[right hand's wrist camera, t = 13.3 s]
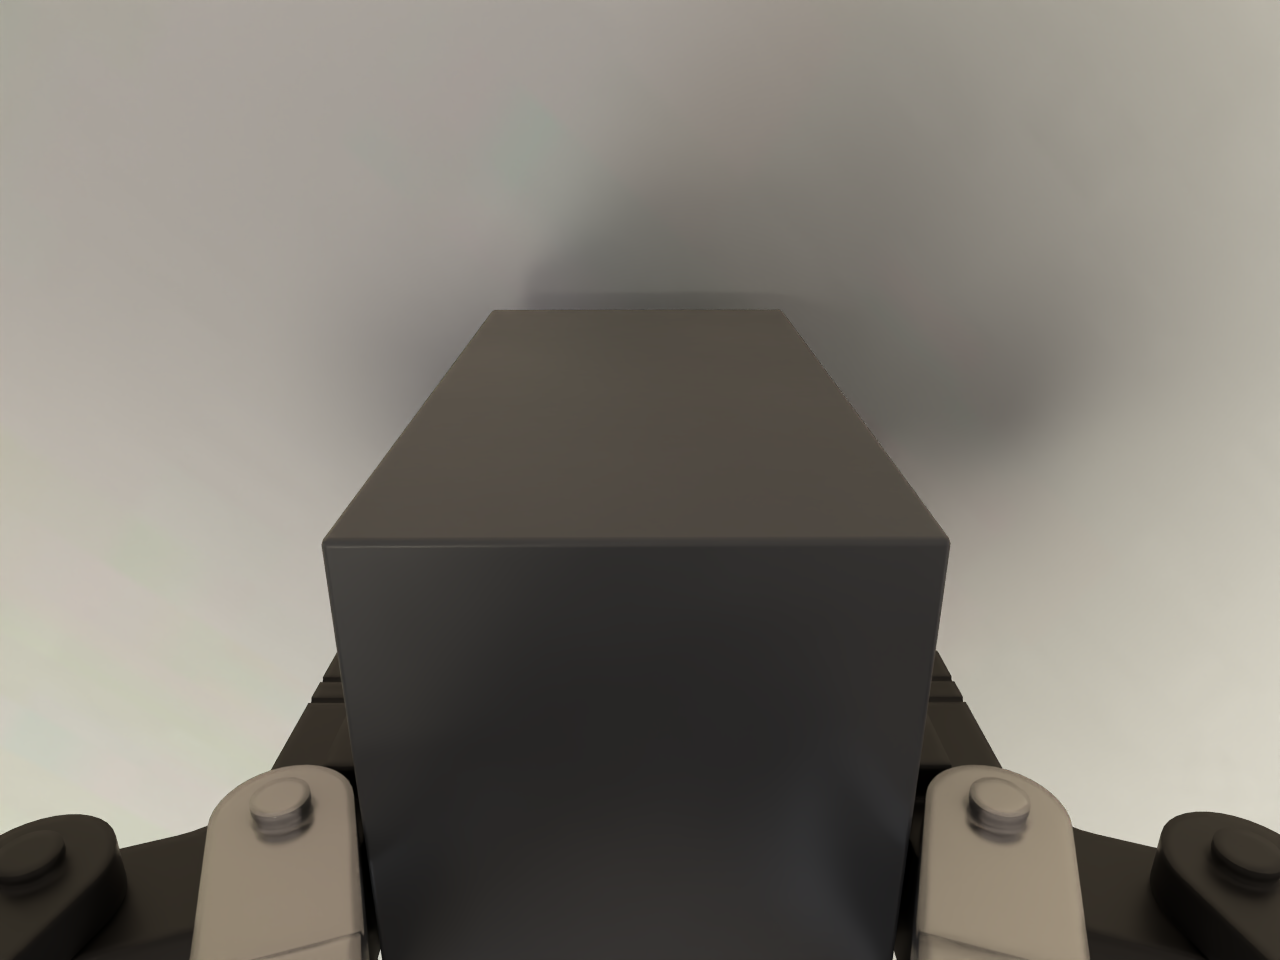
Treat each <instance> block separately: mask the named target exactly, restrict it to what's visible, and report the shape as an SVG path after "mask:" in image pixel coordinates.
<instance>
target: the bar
mask: <svg viewBox="0 0 1280 960" xmlns="http://www.w3.org/2000/svg"><path fill="white" fill-rule="evenodd" d="M949 550H950V540H949V538H948V536H947V535H946V534H945V532H944V531H943V529H942V528H941V527H940V525H939V524H938V523H937V521H936V520H935V519H934V517H933V516H932V515H931V513H930V512H929V510H928V509H927V508H926V506H925V505H924V504H923V502H922V501H921V500H920V498H919V497H918V495H917V494H916V493H915V491H914V490H913V489H912V487H911V486H910V485H909V483H908V482H907V481H906V479H905V478H904V476H903V475H902V474H901V472H900V471H899V470H898V468H897V467H896V466H895V464H894V463H893V461H892V460H891V459H890V457H889V456H888V455H887V453H886V452H885V451H884V449H883V448H882V446H881V445H880V444H879V442H878V441H877V440H876V438H875V437H874V436H873V434H872V433H871V432H870V430H869V429H868V427H867V426H866V425H865V423H864V422H863V421H862V419H861V418H860V417H859V415H858V414H857V412H856V411H855V410H854V408H853V407H852V406H851V404H850V403H849V402H848V400H847V399H846V398H845V396H844V395H843V393H842V392H841V391H840V389H839V388H838V387H837V385H836V384H835V383H834V381H833V380H832V378H831V377H830V376H829V374H828V373H827V372H826V370H825V369H824V368H823V366H822V365H821V363H820V362H819V361H818V359H817V358H816V357H815V355H814V354H813V353H812V351H811V350H810V349H809V347H808V346H807V344H806V343H805V342H804V340H803V339H802V338H801V336H800V335H799V334H798V332H797V331H796V329H795V328H794V327H793V325H792V324H791V323H790V321H789V320H788V319H787V317H786V316H785V315H784V313H783V312H782V311H781V310H494V311H492V313H491V314H490V315H489V317H488V318H487V319H486V321H485V322H484V323H483V325H482V326H481V327H480V329H479V330H478V331H477V333H476V334H475V335H474V337H473V338H472V340H471V341H470V342H469V344H468V345H467V346H466V348H465V349H464V350H463V352H462V353H461V354H460V356H459V357H458V358H457V360H456V361H455V362H454V364H453V365H452V367H451V368H450V369H449V371H448V372H447V373H446V375H445V376H444V377H443V379H442V380H441V381H440V383H439V384H438V385H437V387H436V388H435V389H434V391H433V392H432V393H431V395H430V396H429V398H428V399H427V400H426V402H425V403H424V404H423V406H422V407H421V408H420V410H419V411H418V412H417V414H416V415H415V416H414V418H413V419H412V420H411V422H410V423H409V424H408V426H407V427H406V429H405V430H404V431H403V433H402V434H401V435H400V437H399V438H398V439H397V441H396V442H395V443H394V445H393V446H392V447H391V449H390V450H389V451H388V453H387V454H386V455H385V457H384V458H383V460H382V461H381V462H380V464H379V465H378V466H377V468H376V469H375V470H374V472H373V473H372V474H371V476H370V477H369V478H368V480H367V481H366V482H365V484H364V485H363V487H362V488H361V489H360V491H359V492H358V493H357V495H356V496H355V497H354V499H353V500H352V501H351V503H350V504H349V505H348V507H347V508H346V509H345V511H344V512H343V513H342V515H341V516H340V518H339V519H338V520H337V522H336V523H335V524H334V526H333V527H332V528H331V530H330V531H329V532H328V534H327V535H326V536H325V538H324V539H323V542H322V551H323V558H324V564H325V571H326V578H327V585H328V592H329V599H330V606H331V612H332V619H333V626H334V633H335V640H336V647H337V653H338V660H339V667H340V674H341V681H342V688H343V695H344V701H345V708H346V715H347V722H348V729H349V736H350V743H351V749H352V756H353V763H354V770H355V777H356V784H357V790H358V797H359V804H360V811H361V818H362V825H363V832H364V838H365V845H366V852H367V859H368V866H369V873H370V880H371V886H372V893H373V900H374V907H375V914H376V921H377V927H378V934H379V941H380V948H381V955H382V960H893V953H894V945H895V938H896V931H897V924H898V917H899V910H900V902H901V895H902V888H903V881H904V874H905V866H906V859H907V852H908V845H909V838H910V830H911V823H912V816H913V809H914V802H915V795H916V787H917V780H918V773H919V766H920V759H921V751H922V744H923V737H924V730H925V723H926V715H927V708H928V701H929V694H930V687H931V680H932V672H933V665H934V658H935V651H936V644H937V636H938V629H939V622H940V615H941V608H942V600H943V593H944V586H945V579H946V572H947V565H948V557H949Z"/></svg>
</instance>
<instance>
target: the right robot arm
mask: <svg viewBox="0 0 1280 960" xmlns="http://www.w3.org/2000/svg"><path fill="white" fill-rule="evenodd" d="M380 949H381V948H380V941H379V934H378V927H377V921H376V914H375V907H374V900H373V893H372V886H371V880H370V873H369V866H368V859H367V852H366V845H365V838H364V832H363V825H362V818H361V811H360V804H359V797H358V790H357V784H356V777H355V770H354V763H353V756H352V749H351V743H350V736H349V729H348V722H347V715H346V708H345V701H344V695H343V688H342V681H341V674H340V667H339V660H338V653H336V655H335V657H334V659H333V660H332V662H331V664H330V666H329V668H328V669H327V671H326V673H325V675H324V676H323V682H320V684H319V685H318V687H317V689H316V691H315V692H314V694H313V696H312V701H311V703H308V705H307V707H306V709H305V710H304V712H303V714H302V716H301V717H300V719H299V721H298V723H297V725H296V726H295V728H294V730H293V732H292V733H291V735H290V737H289V739H288V741H287V742H286V744H285V746H284V748H283V749H282V751H281V753H280V755H279V757H278V758H277V760H276V762H275V764H274V765H273V767H272V769H271V771H268V772H265V773H262V774H260V775H257V776H255V777H253V778H251V779H249V780H247V781H246V782H244V783H242V784H241V785H239V786H237V787H236V788H235V789H233V790H232V791H231V792H230V793H228V794H227V795H226V796H225V797H224V798H223V799H222V800H221V801H220V802H219V804H218V805H217V806H216V808H215V809H214V811H213V813H212V815H211V817H210V819H209V823H208V826H206V827H203V828H200V829H198V830H195V831H192V832H189V833H185V834H182V835H178V836H174V837H169V838H165V839H161V840H156V841H152V842H148V843H143V844H139V845H135V846H130V847H126V848H121V849H119V846H118V842H117V839H116V835H115V833H114V831H113V829H112V827H111V826H110V825H109V824H108V823H107V822H105V821H103V820H102V819H99V818H96V817H93V816H89V815H81V814H68V815H59V816H53V817H48V818H44V819H40V820H37V821H33V822H30V823H27V824H24V825H22V826H19V827H17V828H14V829H12V830H10V831H8V832H6V833H4V834H2V835H0V960H378V956H379V952H380ZM894 952H895V955H896V959H897V960H1280V834H1278V833H1276V832H1274V831H1272V830H1270V829H1268V828H1266V827H1264V826H1262V825H1259V824H1257V823H1254V822H1252V821H1249V820H1246V819H1242V818H1239V817H1236V816H1232V815H1227V814H1222V813H1214V812H1191V813H1185V814H1182V815H1179V816H1176V817H1174V818H1173V819H1171V820H1169V821H1168V822H1167V824H1166V825H1165V826H1164V828H1163V830H1162V832H1161V836H1160V839H1159V843H1158V847H1157V848H1154V847H1150V846H1145V845H1141V844H1137V843H1132V842H1128V841H1123V840H1119V839H1115V838H1110V837H1106V836H1102V835H1097V834H1093V833H1090V832H1086V831H1082V830H1079V829H1077V828H1074V827H1072V823H1071V820H1070V817H1069V815H1068V813H1067V811H1066V809H1065V808H1064V807H1063V805H1062V804H1061V803H1060V801H1059V800H1058V799H1057V798H1056V797H1055V796H1054V795H1053V794H1052V793H1050V792H1049V791H1048V790H1046V789H1045V788H1044V787H1043V786H1041V785H1039V784H1038V783H1036V782H1034V781H1033V780H1031V779H1029V778H1027V777H1025V776H1023V775H1020V774H1018V773H1015V772H1012V771H1009V770H1006V769H1002V767H1001V765H1000V763H999V761H998V760H997V758H996V756H995V754H994V752H993V751H992V749H991V747H990V745H989V743H988V742H987V740H986V738H985V736H984V734H983V732H982V731H981V729H980V727H979V725H978V723H977V722H976V720H975V718H974V716H973V714H972V713H971V711H970V709H969V707H968V705H967V704H966V702H963V696H962V695H961V693H960V691H959V689H958V687H957V686H956V684H955V682H954V681H952V680H951V675H950V673H949V671H948V669H947V667H946V666H945V664H944V662H943V660H942V658H941V657H940V655H939V653H938V652H937V651H935V658H934V665H933V672H932V680H931V687H930V694H929V701H928V708H927V715H926V723H925V730H924V737H923V744H922V751H921V759H920V766H919V773H918V780H917V787H916V795H915V802H914V809H913V816H912V823H911V830H910V838H909V845H908V852H907V859H906V866H905V874H904V881H903V888H902V895H901V902H900V910H899V917H898V924H897V931H896V938H895V945H894Z"/></svg>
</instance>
